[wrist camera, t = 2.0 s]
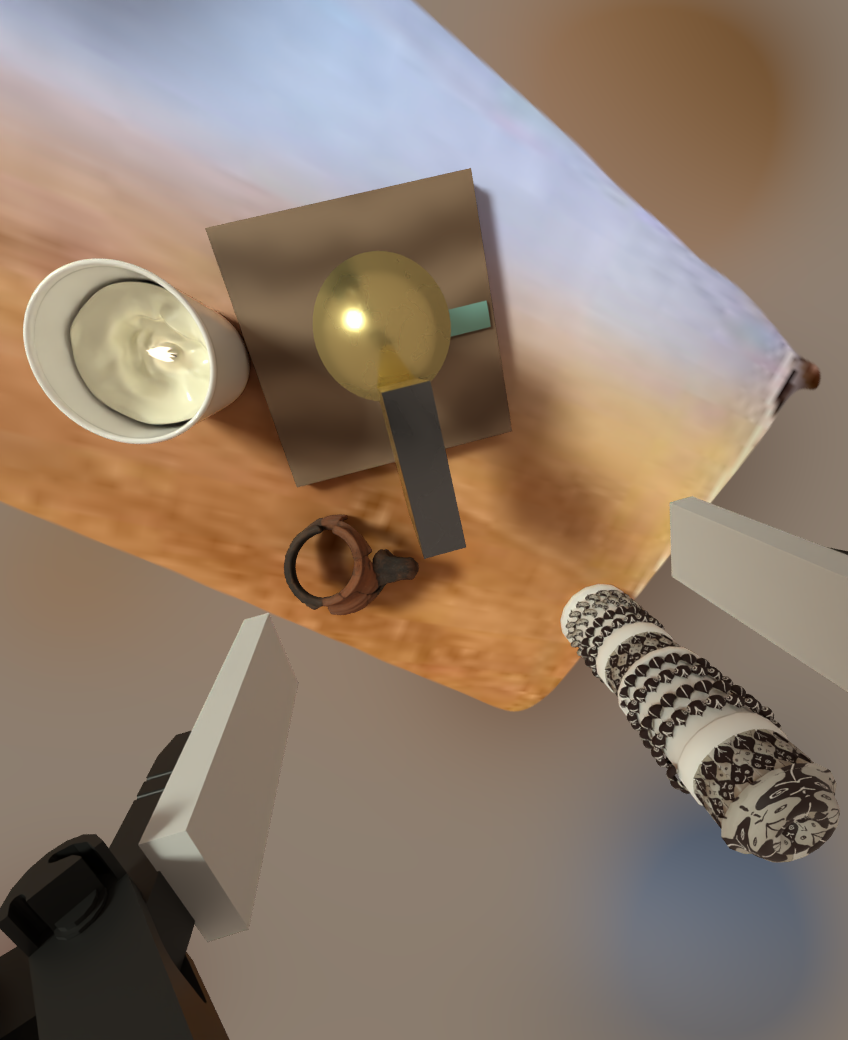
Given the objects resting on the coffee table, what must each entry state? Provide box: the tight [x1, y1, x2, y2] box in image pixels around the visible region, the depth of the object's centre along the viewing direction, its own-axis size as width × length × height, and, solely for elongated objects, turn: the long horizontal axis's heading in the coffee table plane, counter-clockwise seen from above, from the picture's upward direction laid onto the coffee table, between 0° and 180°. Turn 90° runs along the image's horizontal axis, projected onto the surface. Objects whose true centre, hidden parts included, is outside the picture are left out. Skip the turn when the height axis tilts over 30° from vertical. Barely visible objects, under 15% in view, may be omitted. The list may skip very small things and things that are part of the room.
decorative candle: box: [560, 584, 840, 862], centre depth 38 cm, size 9×9×25 cm
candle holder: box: [23, 259, 250, 444], centre depth 30 cm, size 10×10×12 cm
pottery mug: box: [284, 515, 419, 615], centre depth 41 cm, size 12×10×8 cm
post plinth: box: [205, 168, 512, 487], centre depth 32 cm, size 20×20×10 cm
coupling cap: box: [313, 251, 466, 559], centre depth 25 cm, size 16×8×8 cm, turn 13°
